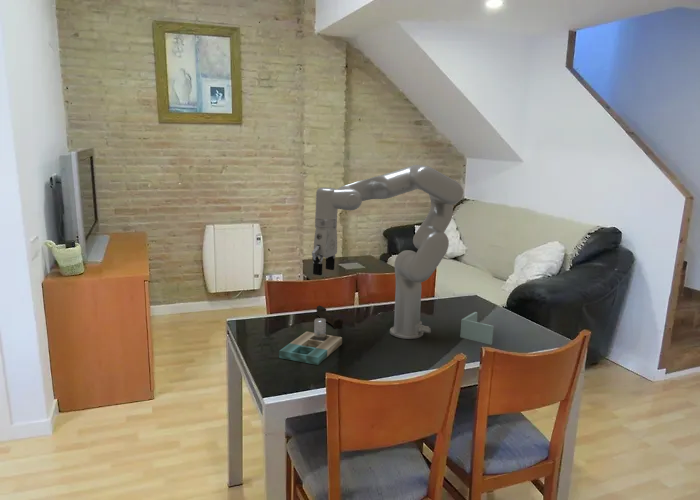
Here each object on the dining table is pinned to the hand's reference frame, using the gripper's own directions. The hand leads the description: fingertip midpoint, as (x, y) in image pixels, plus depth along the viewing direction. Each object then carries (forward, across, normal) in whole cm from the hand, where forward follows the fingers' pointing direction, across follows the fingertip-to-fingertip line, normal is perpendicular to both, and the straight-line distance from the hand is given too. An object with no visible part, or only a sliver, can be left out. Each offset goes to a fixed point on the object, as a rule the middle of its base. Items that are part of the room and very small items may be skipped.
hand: (323, 272), depth 184 cm
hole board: (+26, -10, -2) cm, 27 cm away
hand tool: (+26, +20, +8) cm, 33 cm away
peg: (+25, -3, -1) cm, 26 cm away
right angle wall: (+24, +31, -52) cm, 65 cm away
